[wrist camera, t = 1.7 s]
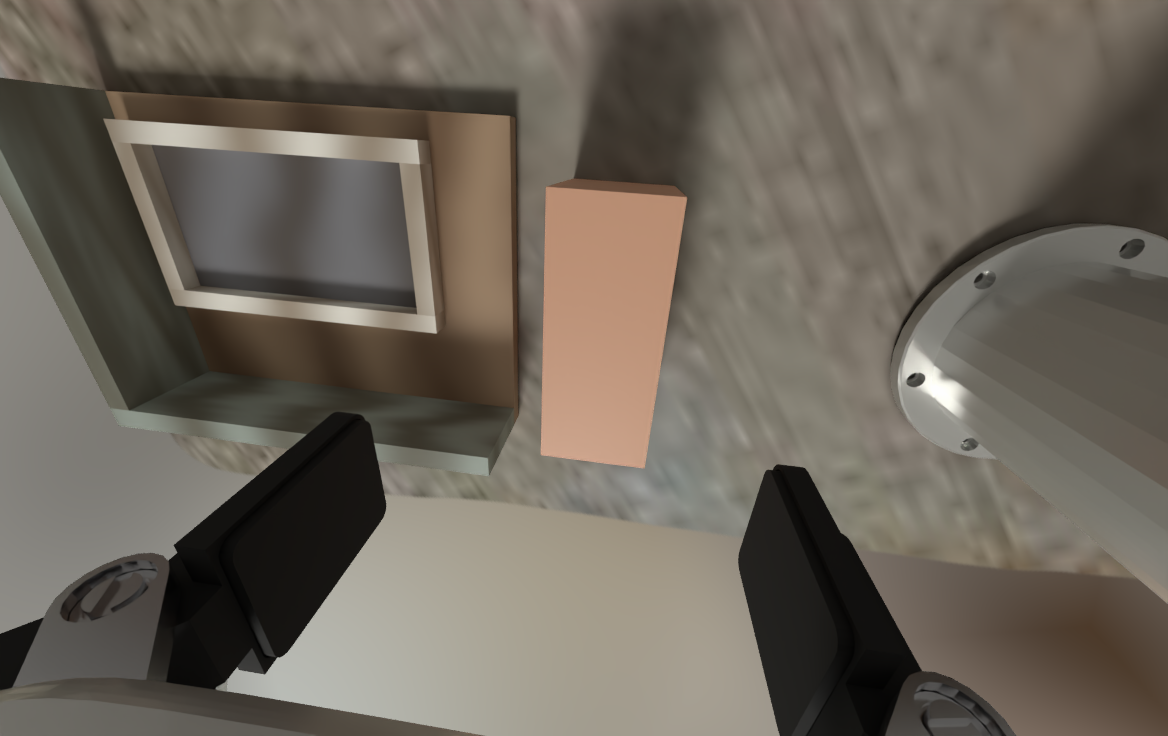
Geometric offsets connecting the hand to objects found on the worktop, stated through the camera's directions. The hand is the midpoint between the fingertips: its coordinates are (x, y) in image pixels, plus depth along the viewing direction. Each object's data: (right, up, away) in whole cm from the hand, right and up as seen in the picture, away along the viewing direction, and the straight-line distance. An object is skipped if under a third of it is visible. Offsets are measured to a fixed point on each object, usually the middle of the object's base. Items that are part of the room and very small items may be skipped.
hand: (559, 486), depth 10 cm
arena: (-14, +8, +15) cm, 22 cm away
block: (+2, +7, +14) cm, 16 cm away
